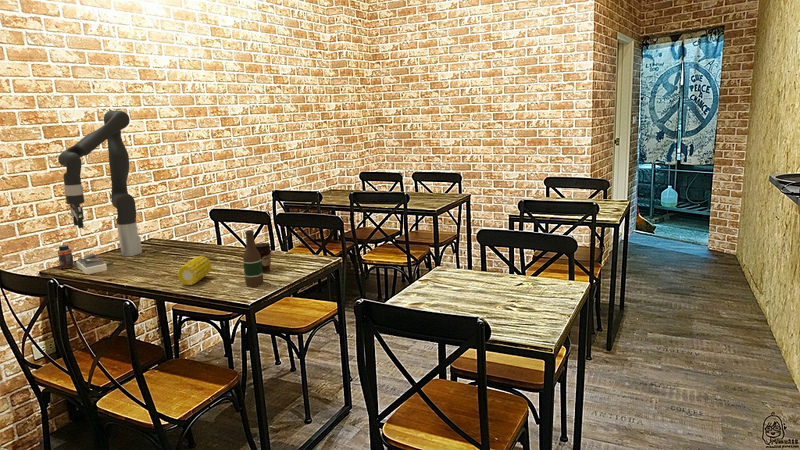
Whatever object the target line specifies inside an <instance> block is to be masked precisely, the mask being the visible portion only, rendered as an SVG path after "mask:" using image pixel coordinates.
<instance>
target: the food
mask: <svg viewBox="0 0 800 450" xmlns="http://www.w3.org/2000/svg"><path fill="white" fill-rule="evenodd" d="M211 270H212V264H211V261H210V260H209V258H207V257H206V256H202V255H199V256H195V257H194V258H192V259H190V260H188V261H187V262H186V263H185V264H184V265H183V264H182V266H181V267H179V268H178V271H177V277H178V281H180V282H181V283H182V284H184V286H185V285H186V286H193V285H195V284H196V283H198V282H199V281H201V280H202V279H204V278H205V276H207V275H209V273H210V272H211Z"/></svg>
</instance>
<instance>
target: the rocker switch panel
mask: <svg viewBox="0 0 800 450" xmlns="http://www.w3.org/2000/svg"><path fill="white" fill-rule="evenodd" d="M94 255H95V256H96V258H91V259H99V260H101V261H99V262H95V263H90V264H86V263H85V260H80V258H81V257H78V258H77V260H76V261H75V262H76V264H75V265H76V267H77V269H79V270H80V271H81V270H82V271H81V272H83V273H84V274H85V275H86V274H88V275H92V274H96V273H100V272H101V273H102V272H105V271H108V266H111V265H114V262H113V261H112V262H107V263H105V262H104V260H103V259H102V258H99V256H97V255H96V254H94Z"/></svg>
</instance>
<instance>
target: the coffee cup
mask: <svg viewBox="0 0 800 450" xmlns="http://www.w3.org/2000/svg"><path fill="white" fill-rule="evenodd" d="M255 246H256V249H257V250H258V251H259V253H260V255H261V261H262V271H263V274H264V273H269V272H270V271H271V265H272V264H271V263H272V262H271V261H272V259H271V258H272V254H271V248H272V247H271V243H269V242H260V243H258V242H257V243H255Z"/></svg>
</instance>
